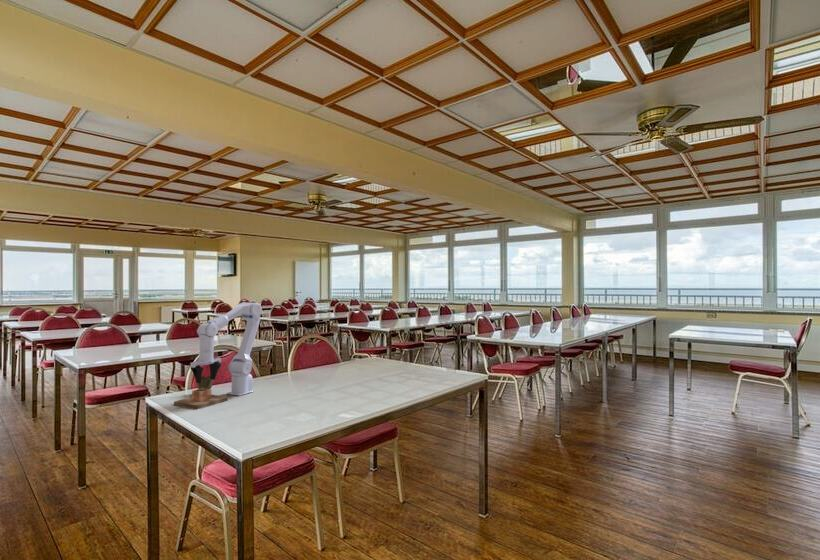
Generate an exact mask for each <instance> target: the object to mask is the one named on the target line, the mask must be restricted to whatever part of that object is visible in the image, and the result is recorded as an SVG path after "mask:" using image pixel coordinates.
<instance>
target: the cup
mask: <svg viewBox="0 0 820 560" xmlns="http://www.w3.org/2000/svg"><path fill="white" fill-rule="evenodd" d="M213 383H214V380H211V379H210V375H207V376H205V375H203V376H201V383H196V386H197V389H201V388H205V389H211V388H212V387H213ZM211 390H212V389H211Z"/></svg>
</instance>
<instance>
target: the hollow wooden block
mask: <svg viewBox="0 0 820 560" xmlns="http://www.w3.org/2000/svg"><path fill="white" fill-rule="evenodd" d="M201 389H204V391H200V389H198V388H196V389H194V390H192V391H191V397H192V400H195V401H204V400H208V399H211V394H212V389H205V388H201Z"/></svg>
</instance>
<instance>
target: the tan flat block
mask: <svg viewBox="0 0 820 560" xmlns="http://www.w3.org/2000/svg"><path fill="white" fill-rule="evenodd" d="M200 391H204V389H200ZM228 399H229V398H228V396H223V395H218V394H212V393H211V399H208V400H204V401H195V400H192V396H190V397H186V398H182V399H178V400H174V401H173V406H176V407H177V406H178V407H183V408H189V409H194V410H199V409H203V408H206V407H210V406H213V405H217V404H220V403H223V402H227V401H228Z"/></svg>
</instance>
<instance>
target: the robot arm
mask: <svg viewBox="0 0 820 560" xmlns="http://www.w3.org/2000/svg"><path fill="white" fill-rule="evenodd" d="M262 311H263V309H262V306H261V305H260V304H259V303H258V302H247V301H246V302H244V301H242V302H240V303H239V304H237V305H236V306H235V307H234V308H233V309H231V310H230V311H228V312H227V313H225V314H216V315H215V317H214V318H212V319H209V320H208V321H207V322H206V323H205V322H204V323H201V324H200V325H199V326H198V328H197V329H196V333H197V335H198V339H199V353H198V354H199V357H198V360H196V361H193V362H190V370H191V372H192V373H193V376H194V380H195V383H196V384H197V383H201V376H202V375H203V374H202V373H203V371H204V367H202V366H206V365H208V368H209V374H210V375H209V376H210V379H211V380H213V381H215V380H216V377H217V374H218V371H219V369H220V368H221V366H222V358H221V357H216V358H215V357H214V355H215V354H214V351H215V348H214V347H215V336H216V335H217V334H218V331H220V330H221V329H223V328H224V327H227V326H228V325H229V322H230V321H232V320H233V319H236V318H237V317H239V316H242V318H243V319H244V320H245V321H246V326H245V330H244V333H243V335H242V339H241V343H240V345H239V349H238V351H237V353H236V354H235V355H234V356H233V357H232V360H231V361H230V362H229V364H228V371H229V373H230V375H231V388H230V389H231V390H230V391H229V392H226V394H227V395H233V396H240V397H241V396H244V395H247V394H250V393H253V392H255V390H253V387H254V385H253V384H254V378H253V376H252V373H251V371H252V368H253V366H252V365H253V359H252V358H251V352H252V349H253V346H254V342H255V339H256V336H257V332H258V329H259V327H260V326H259V325H260V322H261V314H262Z"/></svg>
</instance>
